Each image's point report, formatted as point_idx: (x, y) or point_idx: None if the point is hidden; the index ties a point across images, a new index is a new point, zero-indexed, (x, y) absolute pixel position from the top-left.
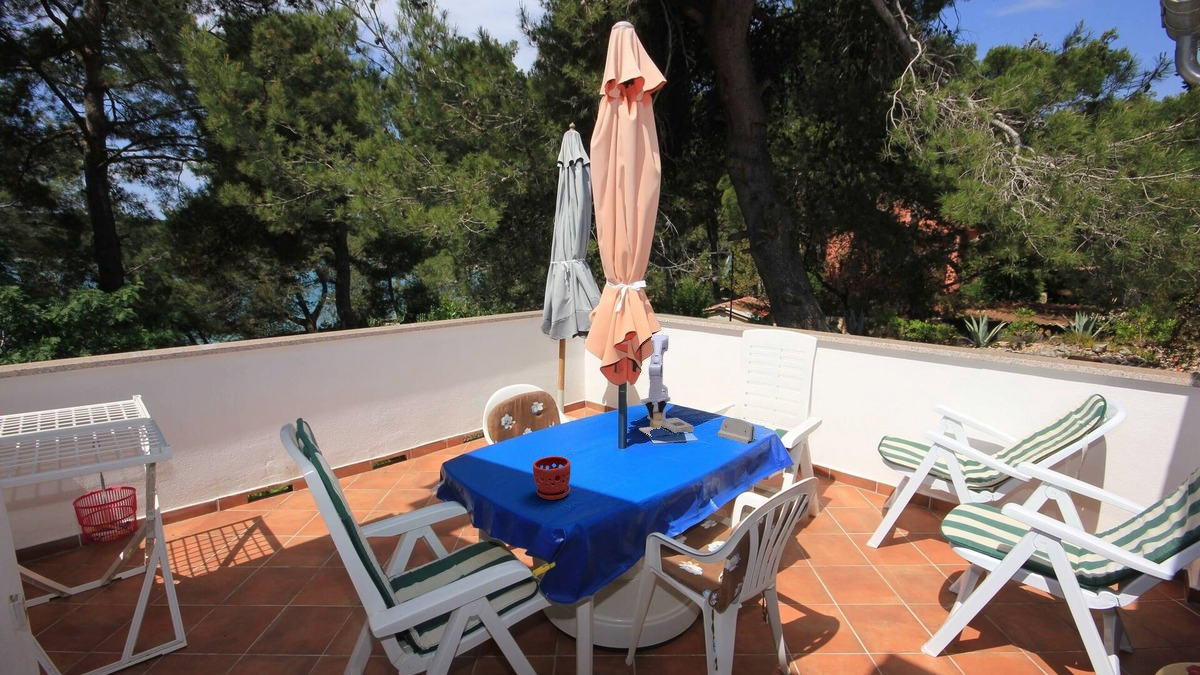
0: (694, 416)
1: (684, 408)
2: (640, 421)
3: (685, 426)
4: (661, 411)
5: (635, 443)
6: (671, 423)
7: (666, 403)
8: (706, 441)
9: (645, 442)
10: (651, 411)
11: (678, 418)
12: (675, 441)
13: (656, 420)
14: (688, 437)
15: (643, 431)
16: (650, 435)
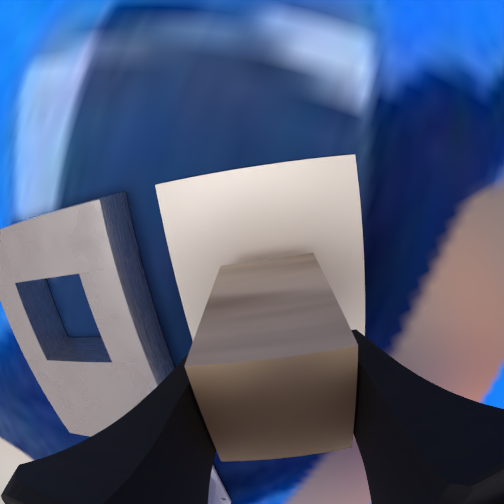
0: (25, 438)
1: None
2: (281, 479)
3: (17, 243)
4: (174, 400)
5: (484, 84)
6: (105, 359)
7: (8, 490)
8: (8, 38)
9: (425, 70)
10: (416, 383)
11: (61, 417)
12: (178, 25)
13: (288, 293)
14: (55, 113)
15: (364, 315)
16: (355, 189)
